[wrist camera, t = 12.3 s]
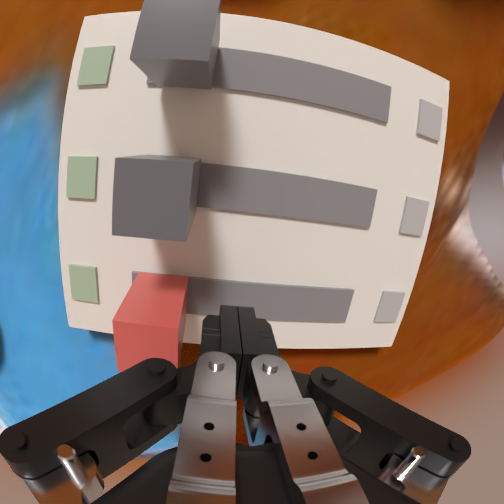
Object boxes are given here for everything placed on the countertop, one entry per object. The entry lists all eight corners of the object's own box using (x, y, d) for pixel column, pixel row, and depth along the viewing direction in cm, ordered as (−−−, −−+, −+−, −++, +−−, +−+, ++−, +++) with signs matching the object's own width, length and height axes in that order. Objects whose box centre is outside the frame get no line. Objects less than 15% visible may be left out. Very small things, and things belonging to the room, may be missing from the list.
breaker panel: (429, 84, 15) (510, 72, 8) (378, 330, 20) (429, 394, 13) (97, 28, 12) (40, -23, 5) (80, 310, 17) (33, 380, 10)
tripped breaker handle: (188, 276, 14) (178, 328, 10) (186, 319, 15) (177, 379, 11) (139, 271, 14) (112, 320, 10) (140, 314, 15) (118, 371, 11)
